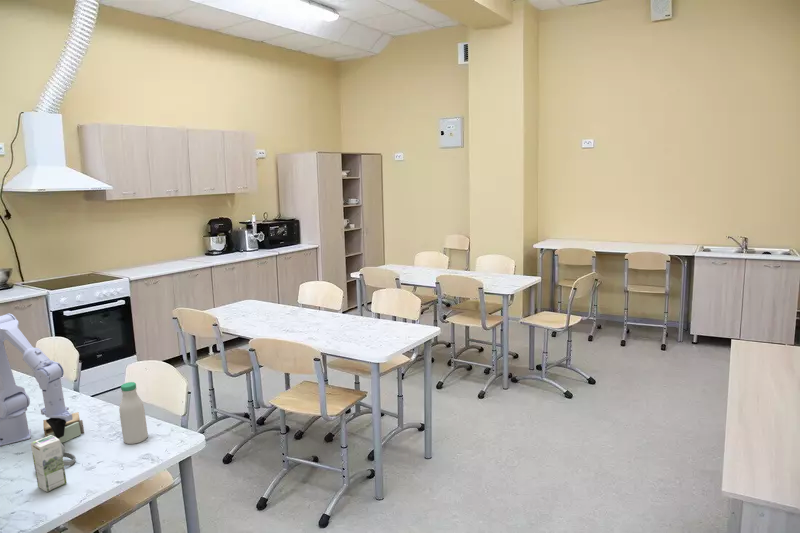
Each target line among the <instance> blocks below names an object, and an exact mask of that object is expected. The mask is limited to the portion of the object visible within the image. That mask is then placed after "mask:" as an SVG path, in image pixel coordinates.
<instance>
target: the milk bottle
mask: <svg viewBox="0 0 800 533" xmlns="http://www.w3.org/2000/svg"><path fill="white" fill-rule="evenodd" d="M120 390H121V393H122V398H121V400H120V404H119V420H120V427H121V434H122V440H123V443H125V444H127V445H134V444H140V443H141V442H143V441H145V440H147V438H148V427H147V426H148V425H147V419H146V412H145V406H144V403H143V400H142V399H141V397H140V395H139V394H138V393H137V384H136V382H134V381H129V382H125V383H122V384H121V385H120Z"/></svg>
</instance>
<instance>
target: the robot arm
mask: <svg viewBox="0 0 800 533" xmlns="http://www.w3.org/2000/svg"><path fill="white" fill-rule="evenodd" d="M6 340H7V341H8V342H9V343H10V344H11V345H12V346H13V347H15V349H17V350H18V351H19V352H20V353H21V354H22V360H23V361H24V362H25V363H26V365H27V366H28V367H29V368H30V369H31V371H33V372H34V373H35V375H34V378H35V381H36V382H37V384H38V387H39V389H40V390H41V392H42V397H43V403H44V407H43V408H41V409H40V414H41V415H42V416H44V415H45V417H46V418H47V420H46V419H45V420H46V422H47V423H48V424H49V425H50V426H51V428H52V430H53V431H54V434H55V436H56V437H57V438H60V437H63V436H64V430H65V425H66V422H68V421H70V420H72V419H73V418H72V413H70V411H69V409H70V408H69V407H68V406H66V404H65V397H64V391H63V386H62V385H63V384H62V381H61V379H62V378H63V377H64V374H65V373H64V368H63V366H62V365H61V363H59V362H58V361H55V360H53V359H50V358H49V357H48V355H46V354H45V353H44V351H43V350H42V349H41V348H39V347H34V346H33V345H32V344H31V342H30V341H29V340H28V338H27V337H26V336H25V335H24V333H23V332H22V331H21V329H20V322H19V320H18V319H17V317H16V316H14V314H12V313H9V312H8V313H5V314H2V315H0V447H2V446H5V445H9V444H14V443H18V442H22V441H26V440H30V439H31V437H32V436H31V435H32V432H31V431H32V430H31V429H30V428H29V425H28V424H29V423H28V419H27V413H26V412H27V411H28V407H29V406H30V404H31V401H30V397H29V395H28V394H27V392H26V390H25V388H24V387H22V386H19V385H17V384H16V383H17V382H16V381H15V380H16V379H15V377H14V375H13V374H14V373H13V370H12V367H11V364H10V361H9V357H8V354H7V351H6V348H5V347H6V346H5V345H4V342H5V341H6Z"/></svg>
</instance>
